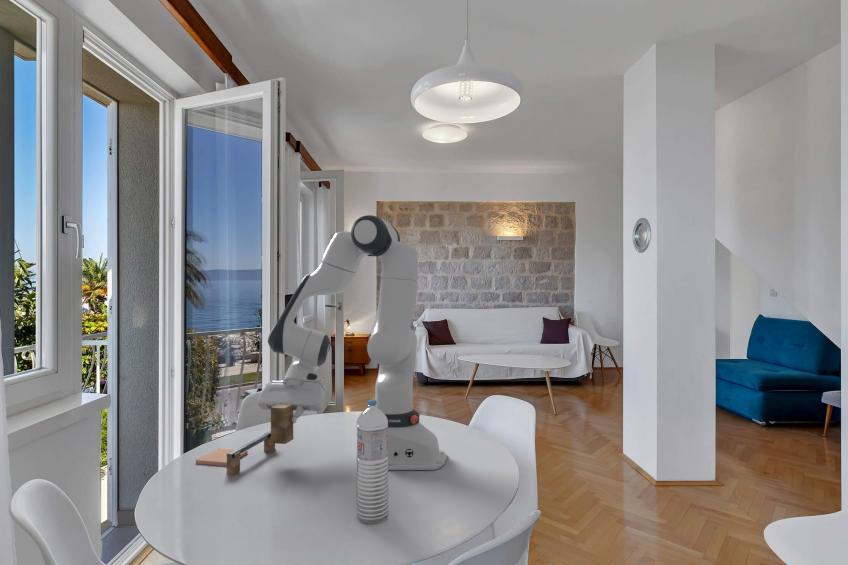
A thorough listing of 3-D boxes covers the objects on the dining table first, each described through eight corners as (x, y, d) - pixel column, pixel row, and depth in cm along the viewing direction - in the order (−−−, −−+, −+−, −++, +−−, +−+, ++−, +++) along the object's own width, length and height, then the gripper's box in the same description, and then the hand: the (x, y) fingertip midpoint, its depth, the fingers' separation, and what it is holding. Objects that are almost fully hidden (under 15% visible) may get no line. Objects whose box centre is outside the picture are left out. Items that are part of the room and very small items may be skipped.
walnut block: (293, 438, 130) (292, 404, 130) (285, 443, 125) (285, 408, 126) (279, 438, 131) (278, 403, 131) (271, 443, 126) (270, 407, 127)
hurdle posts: (275, 449, 140) (275, 432, 140) (235, 475, 120) (235, 454, 120) (267, 449, 140) (267, 431, 140) (226, 474, 120) (226, 453, 120)
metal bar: (273, 434, 140) (274, 431, 140) (232, 458, 120) (232, 454, 120) (270, 434, 140) (270, 430, 140) (228, 458, 120) (228, 453, 120)
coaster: (247, 453, 136) (247, 450, 136) (226, 466, 126) (226, 462, 126) (218, 451, 138) (218, 448, 138) (195, 463, 128) (195, 460, 128)
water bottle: (386, 525, 93) (386, 404, 93) (353, 525, 93) (353, 404, 94) (389, 509, 99) (389, 397, 100) (359, 509, 100) (359, 397, 100)
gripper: (264, 375, 138) (245, 415, 129) (325, 375, 134) (311, 417, 124) (272, 386, 143) (254, 426, 133) (331, 387, 138) (318, 428, 128)
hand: (282, 421), depth 128 cm, fingers closed on walnut block, 4 cm apart
